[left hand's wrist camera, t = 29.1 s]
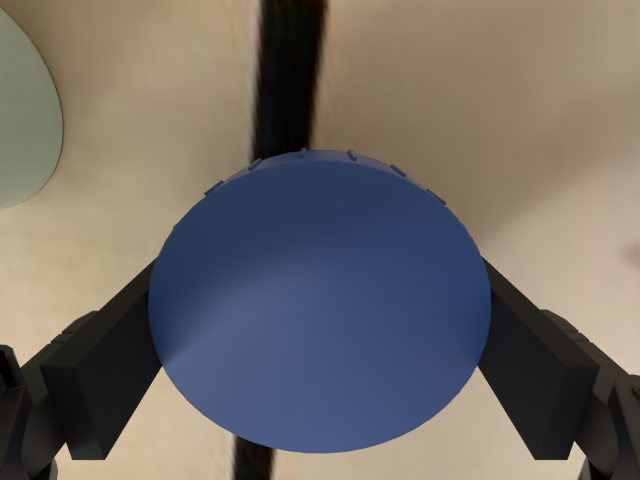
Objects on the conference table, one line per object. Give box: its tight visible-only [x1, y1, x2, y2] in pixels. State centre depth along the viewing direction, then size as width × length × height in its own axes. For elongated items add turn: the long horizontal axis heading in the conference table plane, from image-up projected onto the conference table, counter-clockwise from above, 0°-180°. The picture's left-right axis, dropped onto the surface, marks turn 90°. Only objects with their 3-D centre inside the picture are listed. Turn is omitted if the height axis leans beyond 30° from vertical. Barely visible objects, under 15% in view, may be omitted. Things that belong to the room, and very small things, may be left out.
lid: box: [148, 148, 492, 453], centre depth 11 cm, size 10×10×2 cm
